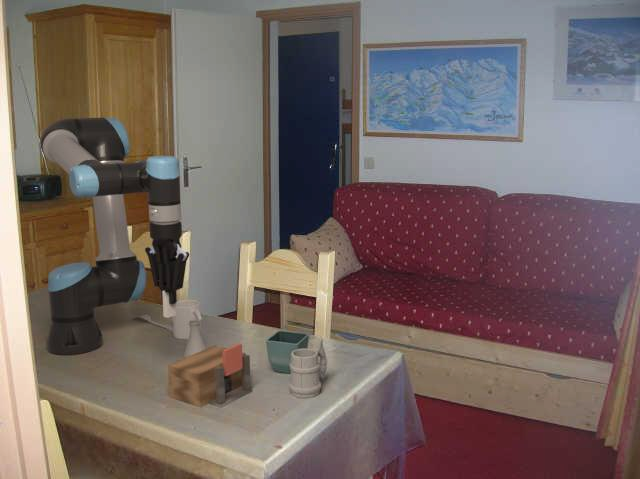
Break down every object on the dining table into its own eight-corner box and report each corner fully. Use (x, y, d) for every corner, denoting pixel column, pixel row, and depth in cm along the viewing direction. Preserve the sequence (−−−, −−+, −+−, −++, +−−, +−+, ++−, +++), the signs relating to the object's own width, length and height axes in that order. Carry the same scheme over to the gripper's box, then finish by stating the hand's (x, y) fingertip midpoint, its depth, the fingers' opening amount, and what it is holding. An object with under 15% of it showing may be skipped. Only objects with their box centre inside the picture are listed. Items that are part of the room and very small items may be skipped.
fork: (172, 339, 212) (172, 331, 211) (130, 319, 224) (130, 311, 223) (179, 337, 214) (179, 329, 213) (137, 317, 226) (137, 309, 226)
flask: (204, 362, 186) (202, 326, 184) (178, 360, 187) (176, 324, 185) (213, 352, 193) (212, 318, 191) (188, 351, 194) (187, 316, 192)
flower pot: (310, 365, 182) (309, 333, 181) (298, 378, 174) (297, 344, 173) (279, 362, 185) (278, 329, 184) (265, 374, 177) (265, 340, 175)
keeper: (223, 375, 160) (222, 350, 159) (239, 367, 164) (238, 343, 163) (226, 376, 159) (225, 351, 158) (242, 368, 164) (241, 344, 162)
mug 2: (282, 393, 165) (281, 345, 163) (313, 378, 174) (313, 332, 172) (306, 401, 161) (306, 352, 158) (338, 385, 170) (337, 338, 167)
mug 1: (189, 345, 199) (188, 311, 197) (168, 334, 208) (167, 303, 206) (213, 338, 204) (212, 306, 203) (192, 329, 213) (190, 298, 211)
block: (169, 397, 164) (167, 360, 162) (216, 375, 177) (215, 341, 175) (213, 411, 156) (211, 373, 154) (259, 387, 169) (258, 352, 167)
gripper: (134, 221, 167) (139, 315, 172) (173, 226, 160) (177, 324, 165) (158, 216, 173) (162, 307, 178) (196, 221, 166) (199, 316, 171)
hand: (169, 315), depth 171 cm, fingers closed
